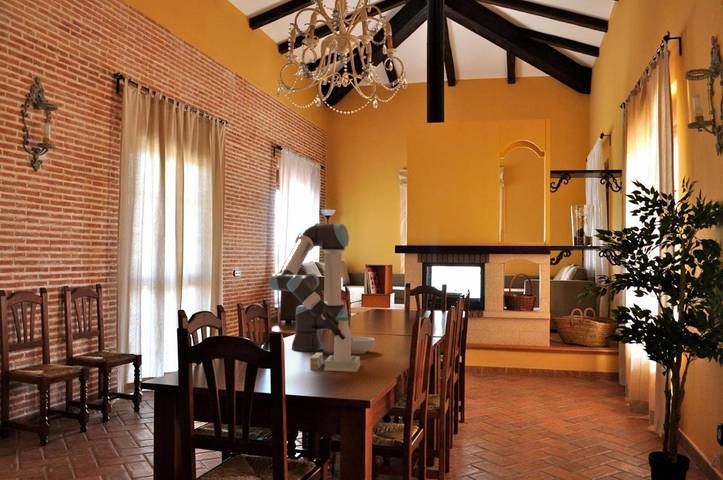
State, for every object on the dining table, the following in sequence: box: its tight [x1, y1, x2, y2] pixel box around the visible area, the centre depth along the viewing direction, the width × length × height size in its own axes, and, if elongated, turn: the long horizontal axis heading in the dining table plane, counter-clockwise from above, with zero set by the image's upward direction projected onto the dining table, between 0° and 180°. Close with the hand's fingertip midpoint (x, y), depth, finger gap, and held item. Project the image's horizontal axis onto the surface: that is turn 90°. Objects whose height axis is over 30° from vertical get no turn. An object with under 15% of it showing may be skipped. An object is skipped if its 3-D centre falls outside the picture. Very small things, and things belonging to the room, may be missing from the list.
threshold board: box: [309, 352, 324, 371], centre depth 263 cm, size 14×3×5 cm, turn 174°
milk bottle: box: [333, 315, 353, 361], centre depth 262 cm, size 8×8×20 cm
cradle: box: [323, 354, 361, 373], centre depth 262 cm, size 14×14×4 cm
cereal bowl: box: [352, 336, 376, 355], centre depth 301 cm, size 17×17×7 cm
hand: (350, 342), depth 261 cm, fingers closed on milk bottle, 7 cm apart
